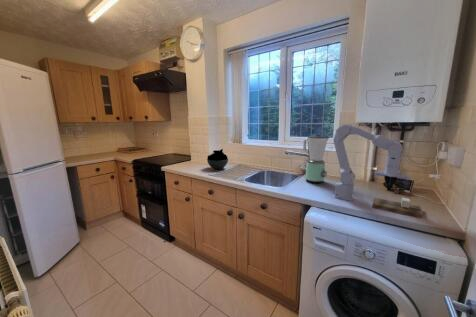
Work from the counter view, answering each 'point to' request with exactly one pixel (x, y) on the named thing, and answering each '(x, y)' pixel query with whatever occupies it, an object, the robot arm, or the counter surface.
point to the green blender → (315, 158)
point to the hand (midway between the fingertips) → (388, 190)
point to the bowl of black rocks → (217, 159)
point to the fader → (405, 202)
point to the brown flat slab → (397, 207)
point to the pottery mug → (397, 187)
